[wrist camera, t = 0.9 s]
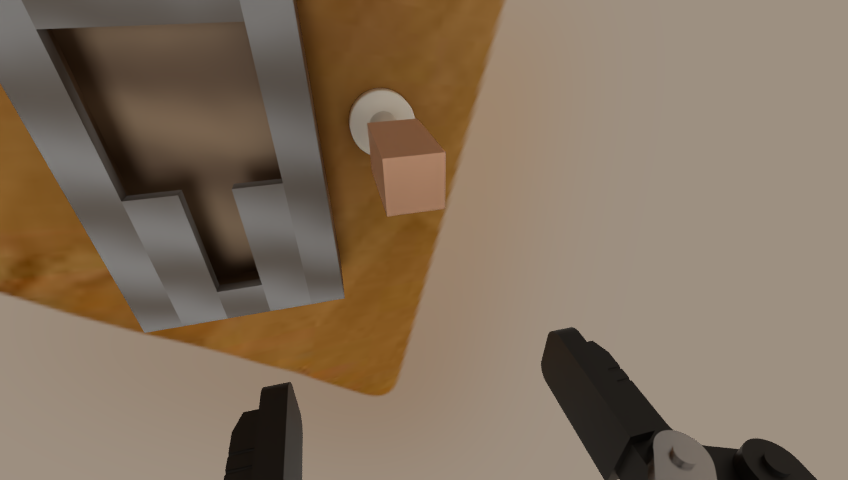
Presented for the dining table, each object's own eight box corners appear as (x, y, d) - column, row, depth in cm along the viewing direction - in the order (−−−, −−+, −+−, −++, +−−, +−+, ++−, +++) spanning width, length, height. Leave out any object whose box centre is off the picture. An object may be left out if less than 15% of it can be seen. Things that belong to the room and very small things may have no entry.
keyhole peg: (344, 90, 26) (362, 143, 17) (410, 85, 27) (462, 133, 18) (352, 154, 29) (372, 232, 20) (412, 148, 30) (459, 220, 20)
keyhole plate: (19, -1, 20) (-48, 0, 17) (294, -8, 23) (291, -9, 19) (164, 291, 31) (144, 332, 27) (340, 264, 34) (344, 298, 30)
